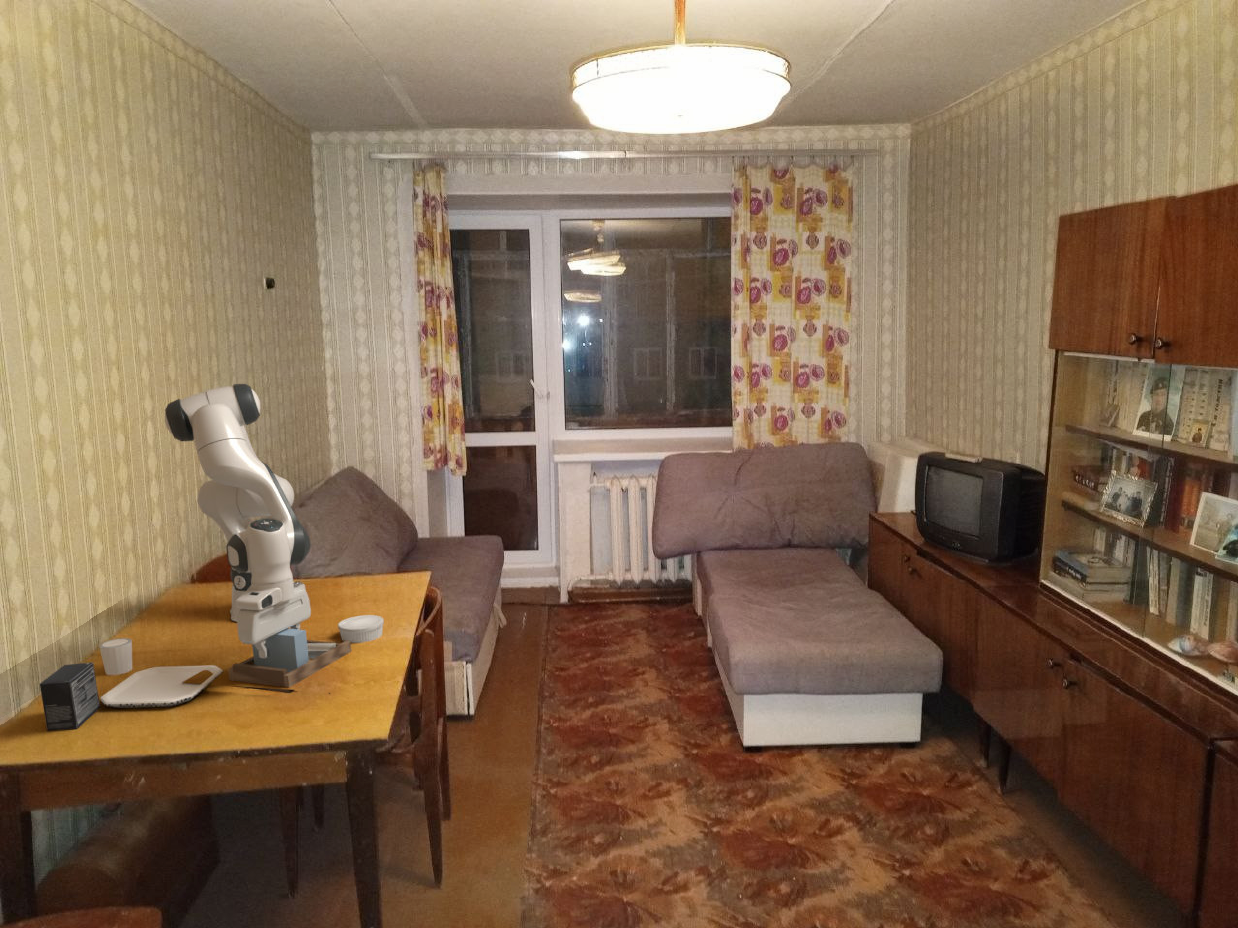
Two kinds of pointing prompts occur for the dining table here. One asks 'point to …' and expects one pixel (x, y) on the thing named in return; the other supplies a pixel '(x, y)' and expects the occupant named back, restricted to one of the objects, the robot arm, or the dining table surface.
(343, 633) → the ramekin
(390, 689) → the dining table surface
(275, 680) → the frame
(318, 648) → the offcut upper
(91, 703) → the small box
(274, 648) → the slate blue block
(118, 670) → the white cup
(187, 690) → the plate
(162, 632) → the dining table surface
